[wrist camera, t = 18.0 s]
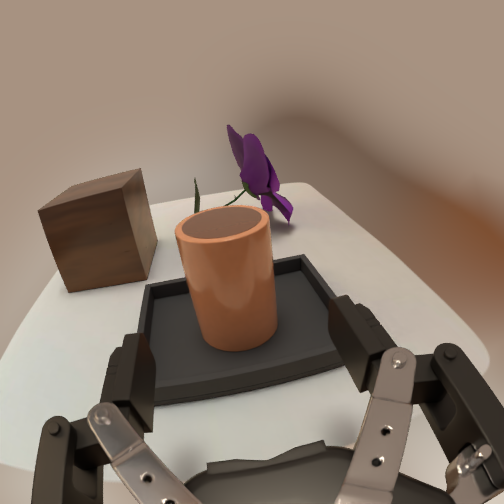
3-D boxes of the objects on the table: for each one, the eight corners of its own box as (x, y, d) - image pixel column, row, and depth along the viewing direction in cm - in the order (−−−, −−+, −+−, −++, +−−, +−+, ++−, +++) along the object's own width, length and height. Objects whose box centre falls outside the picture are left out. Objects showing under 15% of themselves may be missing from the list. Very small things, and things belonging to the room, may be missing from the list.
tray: (140, 407, 18) (129, 390, 17) (150, 300, 29) (145, 284, 28) (364, 358, 20) (368, 339, 19) (304, 270, 31) (304, 253, 30)
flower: (239, 288, 39) (318, 221, 39) (160, 203, 31) (258, 125, 31) (211, 245, 51) (272, 195, 51) (153, 179, 43) (222, 124, 43)
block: (147, 279, 33) (121, 187, 28) (68, 292, 32) (37, 210, 27) (157, 240, 43) (141, 168, 38) (92, 253, 42) (71, 185, 37)
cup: (247, 364, 20) (226, 250, 16) (185, 332, 24) (155, 232, 20) (292, 313, 25) (287, 210, 20) (233, 293, 28) (217, 201, 24)
